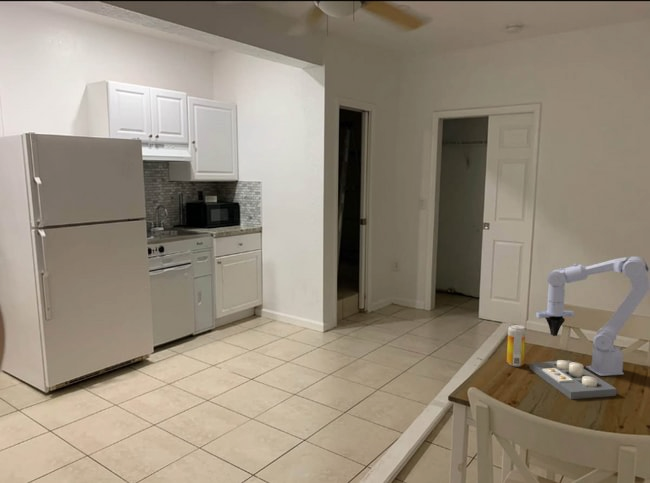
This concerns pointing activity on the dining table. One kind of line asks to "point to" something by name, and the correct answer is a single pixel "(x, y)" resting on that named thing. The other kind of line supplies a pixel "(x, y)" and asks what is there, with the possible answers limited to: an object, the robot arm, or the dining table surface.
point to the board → (576, 387)
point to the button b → (576, 369)
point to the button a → (563, 364)
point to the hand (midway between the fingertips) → (553, 335)
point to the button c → (589, 381)
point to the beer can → (516, 345)
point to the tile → (557, 375)
